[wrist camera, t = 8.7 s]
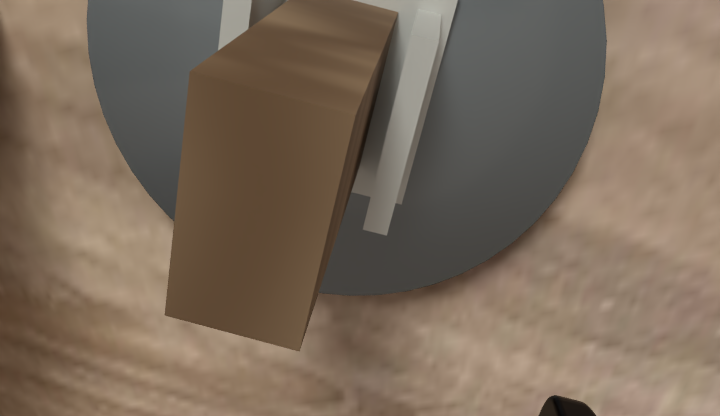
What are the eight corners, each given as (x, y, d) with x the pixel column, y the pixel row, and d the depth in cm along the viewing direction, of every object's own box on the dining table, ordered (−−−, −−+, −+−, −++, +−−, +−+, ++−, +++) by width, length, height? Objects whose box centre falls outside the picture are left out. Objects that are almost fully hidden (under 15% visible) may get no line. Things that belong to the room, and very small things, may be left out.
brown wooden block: (398, 12, 16) (355, 114, 9) (359, 167, 18) (299, 351, 11) (305, -13, 16) (189, 71, 9) (277, 145, 18) (164, 315, 11)
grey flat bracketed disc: (689, -146, 15) (775, -157, 11) (503, 318, 22) (514, 417, 18) (114, -283, 15) (-6, -342, 11) (103, 217, 22) (25, 292, 18)
